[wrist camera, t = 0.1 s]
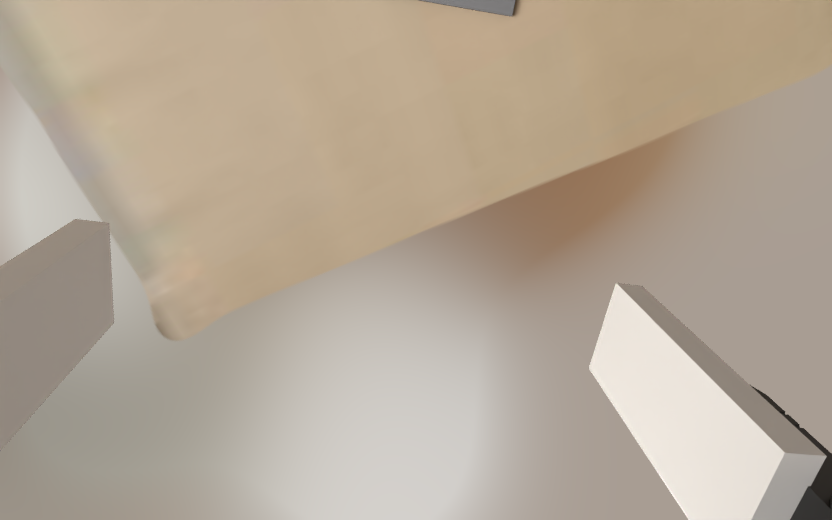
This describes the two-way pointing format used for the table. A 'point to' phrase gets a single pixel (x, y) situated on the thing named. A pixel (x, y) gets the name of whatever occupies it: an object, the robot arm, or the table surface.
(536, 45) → the table surface
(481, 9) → the grey mat
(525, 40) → the table surface
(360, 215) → the table surface
